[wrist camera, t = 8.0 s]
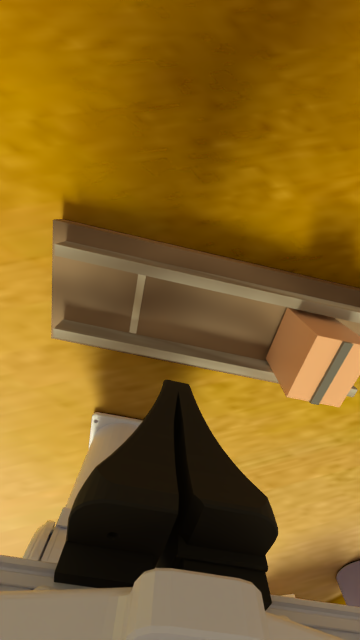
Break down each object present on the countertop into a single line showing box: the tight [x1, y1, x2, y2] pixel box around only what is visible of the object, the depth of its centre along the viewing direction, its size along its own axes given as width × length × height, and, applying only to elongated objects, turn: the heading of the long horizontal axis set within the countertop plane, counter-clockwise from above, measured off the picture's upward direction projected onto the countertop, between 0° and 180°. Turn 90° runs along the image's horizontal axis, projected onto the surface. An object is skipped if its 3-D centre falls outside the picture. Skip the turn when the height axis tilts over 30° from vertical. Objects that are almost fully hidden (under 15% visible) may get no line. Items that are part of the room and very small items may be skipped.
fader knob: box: [266, 307, 360, 407], centre depth 19 cm, size 5×4×5 cm
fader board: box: [51, 219, 360, 397], centre depth 21 cm, size 10×28×3 cm, turn 77°
